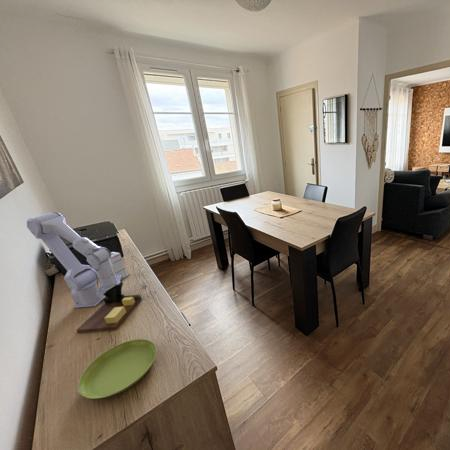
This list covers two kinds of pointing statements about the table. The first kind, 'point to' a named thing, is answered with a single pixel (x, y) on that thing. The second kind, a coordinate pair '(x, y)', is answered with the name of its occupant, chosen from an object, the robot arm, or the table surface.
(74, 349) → the table surface
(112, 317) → the butter block
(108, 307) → the cutting board
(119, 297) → the knife
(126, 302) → the butter slice
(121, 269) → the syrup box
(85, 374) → the saucer
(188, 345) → the table surface
